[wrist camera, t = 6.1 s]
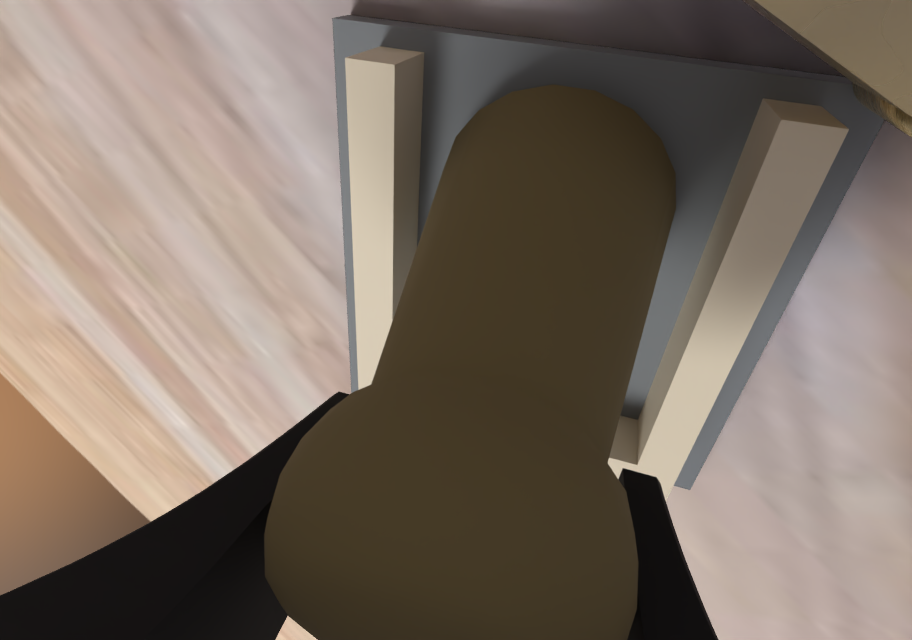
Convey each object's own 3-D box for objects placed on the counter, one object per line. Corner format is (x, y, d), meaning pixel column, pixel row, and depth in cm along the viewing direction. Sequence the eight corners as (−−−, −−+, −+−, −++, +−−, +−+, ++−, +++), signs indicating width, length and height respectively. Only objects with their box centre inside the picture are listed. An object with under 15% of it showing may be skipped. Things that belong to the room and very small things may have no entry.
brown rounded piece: (426, 86, 13) (76, 509, 5) (699, 81, 11) (737, 698, 4) (457, 280, 17) (283, 671, 9) (659, 299, 15) (638, 796, 8)
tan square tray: (883, 81, 12) (942, 111, 10) (688, 468, 20) (694, 539, 17) (349, 15, 14) (291, 25, 12) (362, 382, 22) (327, 433, 20)
